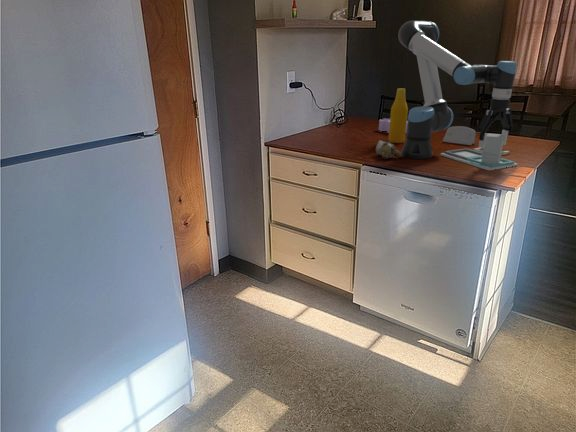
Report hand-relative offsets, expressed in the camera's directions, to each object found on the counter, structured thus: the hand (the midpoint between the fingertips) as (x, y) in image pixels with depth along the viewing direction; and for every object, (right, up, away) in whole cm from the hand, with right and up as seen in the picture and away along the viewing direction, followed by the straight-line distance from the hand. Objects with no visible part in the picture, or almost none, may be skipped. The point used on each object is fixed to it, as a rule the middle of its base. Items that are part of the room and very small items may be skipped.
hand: (492, 145), depth 200 cm
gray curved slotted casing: (+3, +9, +46) cm, 47 cm away
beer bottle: (-32, +10, +48) cm, 58 cm away
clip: (-27, +20, +73) cm, 81 cm away
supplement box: (0, -7, +2) cm, 8 cm away
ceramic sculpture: (-45, -3, +15) cm, 48 cm away
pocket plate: (-3, -5, +9) cm, 11 cm away
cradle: (+10, 0, +23) cm, 25 cm away
